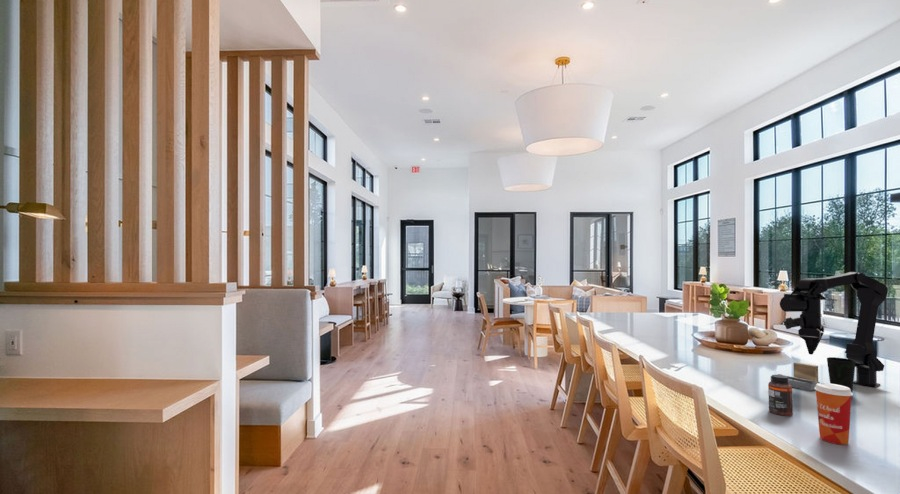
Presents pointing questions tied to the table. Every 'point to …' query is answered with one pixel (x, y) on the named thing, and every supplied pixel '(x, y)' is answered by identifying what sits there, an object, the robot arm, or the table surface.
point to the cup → (841, 371)
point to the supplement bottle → (780, 396)
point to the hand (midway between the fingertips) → (812, 352)
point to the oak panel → (806, 371)
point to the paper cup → (833, 412)
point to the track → (801, 383)
